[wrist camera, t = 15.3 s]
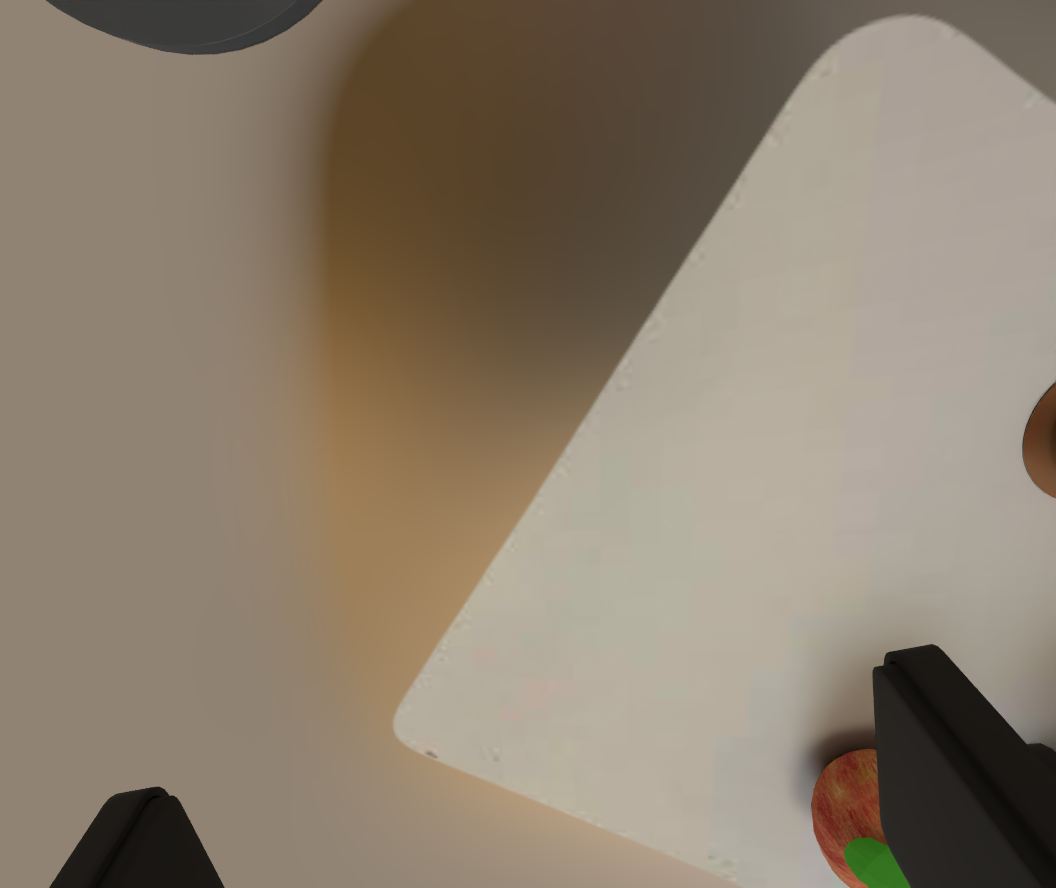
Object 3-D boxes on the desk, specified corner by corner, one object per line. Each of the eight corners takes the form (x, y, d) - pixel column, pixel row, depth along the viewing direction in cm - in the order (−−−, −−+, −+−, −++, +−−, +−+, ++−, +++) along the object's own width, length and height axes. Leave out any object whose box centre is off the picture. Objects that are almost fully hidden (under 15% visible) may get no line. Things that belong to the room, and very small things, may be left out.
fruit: (871, 698, 47) (960, 828, 37) (945, 779, 49) (1046, 920, 40) (764, 767, 49) (823, 908, 39) (841, 842, 51) (914, 990, 42)
